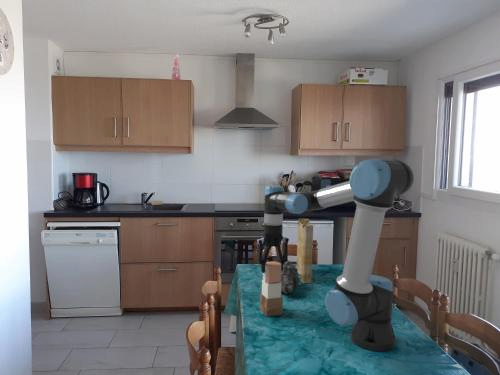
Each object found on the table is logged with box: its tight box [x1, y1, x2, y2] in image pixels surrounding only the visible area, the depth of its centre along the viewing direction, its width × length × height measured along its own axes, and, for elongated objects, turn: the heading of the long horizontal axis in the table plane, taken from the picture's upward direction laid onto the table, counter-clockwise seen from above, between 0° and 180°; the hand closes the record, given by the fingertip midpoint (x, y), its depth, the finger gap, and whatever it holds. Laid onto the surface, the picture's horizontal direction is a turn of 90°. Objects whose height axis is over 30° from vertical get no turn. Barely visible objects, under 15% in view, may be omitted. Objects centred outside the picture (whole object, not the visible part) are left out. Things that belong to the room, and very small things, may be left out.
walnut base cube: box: [259, 292, 284, 317], centre depth 156 cm, size 7×7×7 cm
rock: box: [281, 260, 301, 295], centre depth 182 cm, size 22×16×15 cm
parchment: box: [296, 218, 314, 284], centre depth 202 cm, size 23×6×30 cm, turn 177°
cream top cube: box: [261, 279, 282, 299], centre depth 155 cm, size 6×6×6 cm
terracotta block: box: [266, 260, 281, 283], centre depth 155 cm, size 6×6×7 cm
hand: (271, 279), depth 155 cm, fingers closed on terracotta block, 5 cm apart
